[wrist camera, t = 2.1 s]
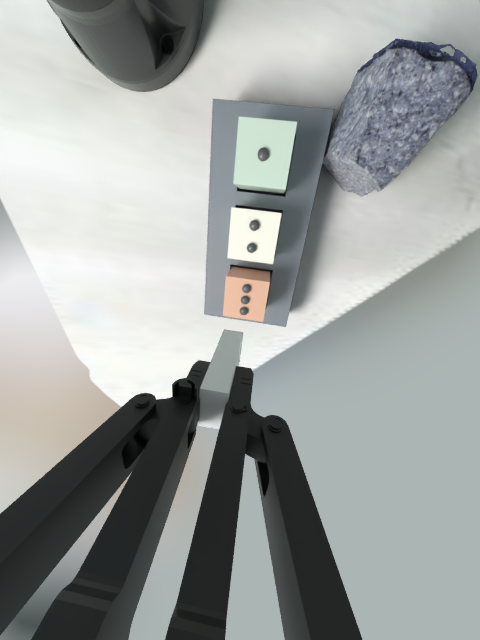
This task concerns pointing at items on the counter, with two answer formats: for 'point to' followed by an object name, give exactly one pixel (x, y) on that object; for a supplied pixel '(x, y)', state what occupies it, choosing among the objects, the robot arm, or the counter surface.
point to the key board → (263, 201)
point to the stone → (394, 112)
